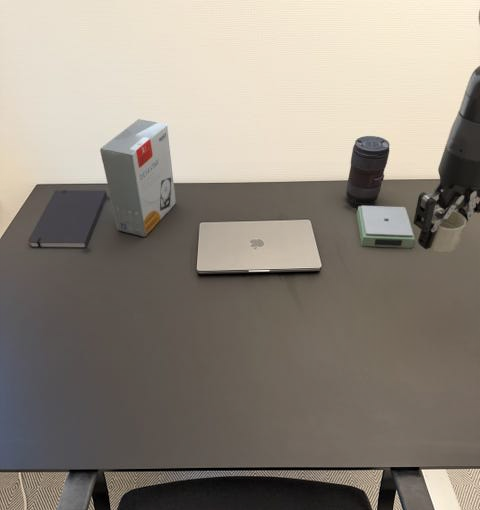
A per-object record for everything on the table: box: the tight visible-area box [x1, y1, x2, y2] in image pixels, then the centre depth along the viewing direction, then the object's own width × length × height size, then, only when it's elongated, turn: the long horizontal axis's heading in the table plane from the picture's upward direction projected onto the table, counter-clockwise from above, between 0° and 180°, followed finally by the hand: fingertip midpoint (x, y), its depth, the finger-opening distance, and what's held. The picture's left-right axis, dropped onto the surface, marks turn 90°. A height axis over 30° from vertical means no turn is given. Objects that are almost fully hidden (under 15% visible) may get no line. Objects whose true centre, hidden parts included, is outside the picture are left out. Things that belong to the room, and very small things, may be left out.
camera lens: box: [345, 135, 390, 209], centre depth 110 cm, size 8×8×15 cm
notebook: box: [27, 189, 108, 249], centre depth 110 cm, size 13×2×21 cm
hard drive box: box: [99, 118, 177, 238], centre depth 104 cm, size 16×8×20 cm, turn 158°
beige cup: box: [428, 207, 468, 254], centre depth 78 cm, size 6×6×5 cm
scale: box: [356, 205, 416, 249], centre depth 106 cm, size 11×12×3 cm
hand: (439, 240), depth 79 cm, fingers closed on beige cup, 6 cm apart
